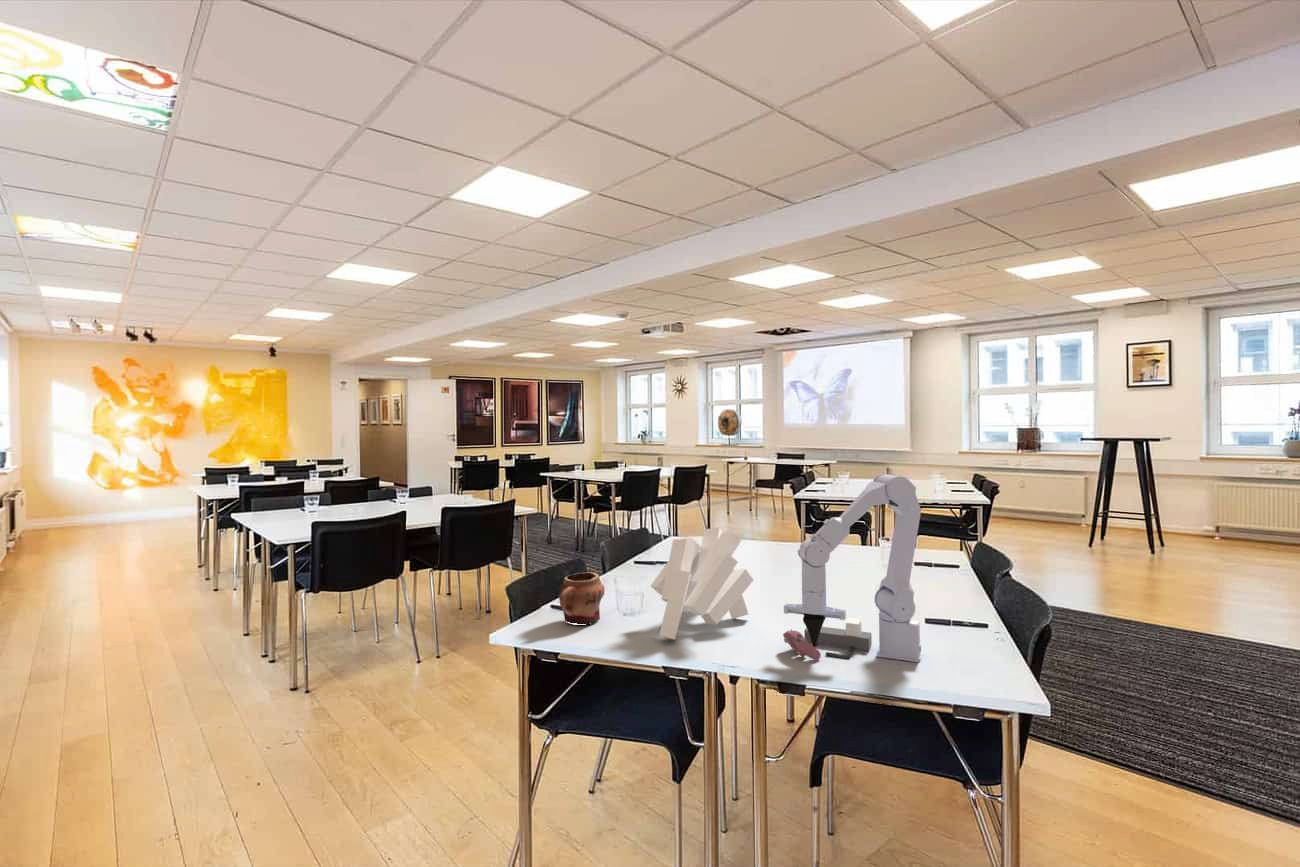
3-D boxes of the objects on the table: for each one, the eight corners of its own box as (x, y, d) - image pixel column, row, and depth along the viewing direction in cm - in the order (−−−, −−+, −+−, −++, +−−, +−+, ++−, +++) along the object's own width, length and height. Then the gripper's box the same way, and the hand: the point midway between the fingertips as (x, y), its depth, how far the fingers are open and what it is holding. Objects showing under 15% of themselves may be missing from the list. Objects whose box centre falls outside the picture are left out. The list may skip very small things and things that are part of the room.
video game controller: (788, 654, 157) (777, 630, 156) (802, 644, 158) (791, 621, 157) (808, 668, 147) (796, 643, 146) (823, 657, 148) (811, 633, 147)
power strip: (871, 645, 158) (871, 620, 158) (865, 661, 147) (864, 634, 147) (808, 636, 165) (808, 613, 165) (798, 652, 154) (797, 626, 154)
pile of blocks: (738, 673, 155) (786, 544, 163) (630, 623, 160) (682, 500, 168) (728, 661, 188) (769, 555, 196) (639, 620, 193) (682, 518, 201)
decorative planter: (584, 636, 169) (583, 585, 169) (545, 632, 173) (544, 582, 173) (613, 615, 187) (612, 570, 187) (577, 612, 191) (576, 567, 191)
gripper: (847, 588, 150) (848, 644, 150) (788, 583, 157) (789, 636, 157) (842, 595, 144) (843, 653, 144) (781, 589, 151) (782, 645, 151)
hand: (814, 645), depth 150 cm, fingers closed
